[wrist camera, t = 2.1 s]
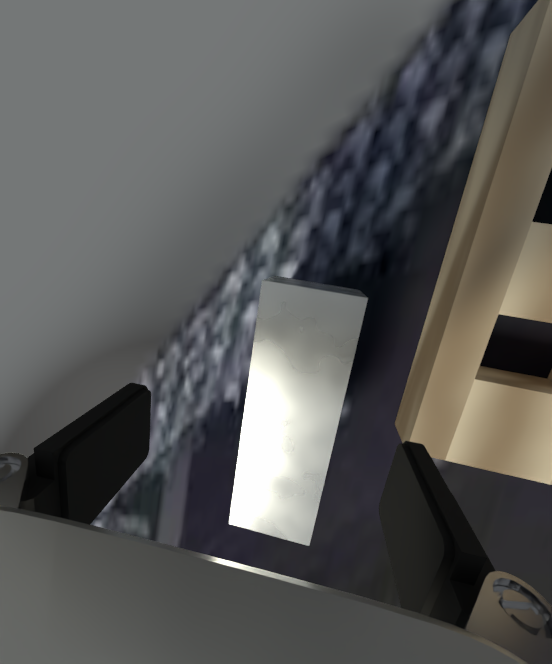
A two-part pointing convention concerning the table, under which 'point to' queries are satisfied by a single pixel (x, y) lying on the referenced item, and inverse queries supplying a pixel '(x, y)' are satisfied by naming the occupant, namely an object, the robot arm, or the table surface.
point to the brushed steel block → (293, 403)
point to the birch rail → (493, 282)
